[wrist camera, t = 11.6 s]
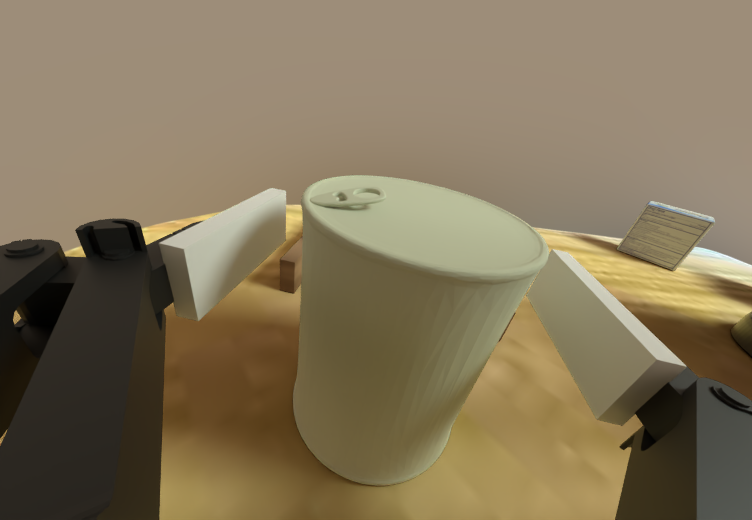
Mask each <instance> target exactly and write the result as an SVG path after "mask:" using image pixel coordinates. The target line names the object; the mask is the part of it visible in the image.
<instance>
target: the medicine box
mask: <svg viewBox="0 0 752 520" xmlns="http://www.w3.org/2000/svg"><path fill="white" fill-rule="evenodd" d="M714 224H715V221H714V219H713V218H712V217H710V216H706V215H702V214H699V213H695V212H691V211H688V210H684V209H680V208H676V207H672V206H669V205H665V204H661V203H657V202H653V201H650V202H649V203H648V204H647V205H646V206H645V208H644V209H643V211H642V212H641V213H640V215H639V217H638V218H637V219H636V221H635V223H634V224H633V226H632V227H631V228H630V230H629V231H628V233H627V234H626V236H625V237H624V239H623V240H622V242H621V243H620V244H619V246H618V247H617V250H619V251H621V252H624V253H627V254H629V255H632V256H635V257H638V258H640V259H643V260H646V261H648V262H651V263H654V264H657V265H659V266H662V267H665V268H667V269H670V270H673V271H675V270H676V269H677V268H678V267H679V265H680V264H681V263H682V262H683V260H684V259H685V258H686V257H687V256H688V254H689V253H690V252H691V251H692V250H693V248H694V247H695V246H696V245H697V244H698V243H699V242H700V240H701V239H702V238H703V237H704V236H705V234H706V233H707V232H708V231H709V230H710V229H711V227H712V226H713V225H714Z"/></svg>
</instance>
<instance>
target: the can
mask: <svg viewBox="0 0 752 520" xmlns="http://www.w3.org/2000/svg"><path fill="white" fill-rule="evenodd" d="M301 206H302V212H303V242H302V277H301V305H300V328H299V352H298V369H297V378H296V381H295V385H294V391H293V410H294V417H295V421H296V424H297V427H298V430H299V432H300V434H301V437H302V439H303V440H304V442H305V444H306V445H307V447H308V448H309V450H310V451H311V452H312V453H313V454H314V456H315V457H316V458H317V459H318V460H319V461H320V462H321V463H322V464H323V465H325V466H326V467H327V468H329V469H330V470H332V471H333V472H335V473H336V474H338V475H340V476H342V477H344V478H346V479H349V480H351V481H354V482H358V483H361V484H368V485H376V486H381V485H393V484H398V483H402V482H405V481H408V480H410V479H412V478H415V477H416V476H418V475H420V474H421V473H423V472H424V471H426V470H427V469H428V468H429V467H430V466H432V465H433V463H434V462H435V461H436V460H437V459H438V458H439V456H440V455H441V453H442V452H443V450H444V448H445V446H446V444H447V441H448V439H449V436H450V432H451V428H452V426H453V424H454V422H455V420H456V418H457V416H458V414H459V412H460V410H461V408H462V407H463V405H464V403H465V401H466V399H467V397H468V395H469V394H470V392H471V390H472V388H473V386H474V384H475V383H476V381H477V379H478V377H479V375H480V373H481V372H482V370H483V368H484V366H485V364H486V362H487V361H488V359H489V357H490V355H491V353H492V352H493V350H494V348H495V346H496V344H497V343H498V341H499V339H500V337H501V336H502V334H503V332H504V330H505V329H506V327H507V325H508V323H509V322H510V320H511V318H512V316H513V315H514V313H515V311H516V309H517V308H518V306H519V304H520V302H521V301H522V299H523V297H524V295H525V294H526V292H527V290H528V289H529V287H530V285H531V284H532V282H533V281H534V279H535V277H536V276H537V274H538V273H539V271H540V270H541V269H542V268H543V267H544V266H545V264H546V263H547V260H548V257H549V249H548V246H547V244H546V242H545V240H544V239H543V237H542V236H541V235H540V234H539V233H538V232H537V231H536V230H535V229H534V228H532V227H531V226H530V225H528V224H527V223H526V222H524V221H523V220H521V219H520V218H518V217H516V216H515V215H513V214H511V213H509V212H507V211H505V210H503V209H501V208H499V207H497V206H495V205H492V204H490V203H488V202H485V201H483V200H480V199H477V198H475V197H472V196H469V195H466V194H463V193H460V192H457V191H454V190H450V189H446V188H443V187H439V186H435V185H430V184H426V183H421V182H416V181H411V180H405V179H399V178H390V177H381V176H360V175H358V176H339V177H333V178H328V179H324V180H321V181H318V182H316V183H314V184H312V185H310V186H309V187H308V188H307V189H306V190H305V191H304V193H303V195H302V199H301Z"/></svg>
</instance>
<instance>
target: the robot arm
mask: <svg viewBox="0 0 752 520" xmlns="http://www.w3.org/2000/svg"><path fill="white" fill-rule="evenodd" d="M75 231H76V233H77V236H78V238H79V240H80V243H81V245H82V248H83V250H84V253H85V255H86V257H65V254H64V252H63V250H62V248H61V246H60V244H59V243H58V242H55V241H52V240H42V239H41V240H32V239H27V240H22V241H20V240H19V241H14V242H11V243H10V244H6V245H2V246H0V438H1V437H2V435H3V434H4V433H5V432H6V430H7V429H8V430H7V433H6V435H5V437H4V439H3V441H2V444H1V446H0V520H159V508H160V479H161V449H162V419H163V389H164V359H165V329H166V316H165V313H164V309H165V308H166V307H167V306H169V305H170V304H171V303H174V307H175V311H176V315H177V316H179V317H183V318H187V319H191V320H195V321H199V320H200V319H201V318H202V317H203V316H205V315H206V314H207V313H208V312H209V311H210V310H211V309H212V308H213V307H214V306H215V305H216V304H218V303H219V302H220V301H221V300H222V299H223V298H224V297H225V296H226V295H227V294H228V293H229V292H231V291H232V290H233V289H234V288H235V287H236V286H237V285H238V284H239V283H240V282H241V281H242V280H243V279H245V278H246V277H247V276H248V275H249V274H250V273H251V272H252V271H253V270H254V269H255V268H256V267H258V266H259V265H260V264H261V263H262V262H263V261H264V260H265V259H266V258H267V257H268V256H269V255H271V254H272V253H273V252H274V251H275V250H276V249H277V248H278V247H279V246H280V245H281V244H282V243H283V242H285V241H286V191H283V190H279V189H274V188H270V189H268V190H266V191H264V192H262V193H260V194H258V195H256V196H254V197H252V198H250V199H248V200H245V201H243V202H242V203H240V204H237V205H235V206H233V207H231V208H229V209H227V210H225V211H223V212H221V213H219V214H217V215H215V216H213V217H211V218H209V219H207V220H204V221H200V222H196V223H192V224H190V225H188V226H186V227H184V228H182V230H178V231H175V232H173V234H169V235H167V236H165V237H163V238H161V239H159V240H157V241H154V242H152V243H150V244H148V245H146V244H145V240H144V236H143V233H142V229H141V226H140V224H139V223H138V222H136V221H134V220H128V219H105V220H98V221H93V222H89V223H87V224H84V225H81V226H80V227H78V228H77V229H76V230H75ZM526 296H527V297H528V299H529V301H530V303H531V304H532V306H533V308H534V310H535V312H536V313H537V315H538V317H539V319H540V320H541V322H542V324H543V326H544V327H545V329H546V331H547V333H548V334H549V336H550V338H551V340H552V341H553V343H554V345H555V347H556V349H557V350H558V352H559V354H560V356H561V357H562V359H563V361H564V363H565V364H566V366H567V368H568V370H569V371H570V373H571V375H572V377H573V378H574V380H575V382H576V384H577V386H578V387H579V389H580V391H581V393H582V394H583V396H584V398H585V400H586V401H587V403H588V405H589V407H590V408H591V410H592V412H593V414H594V415H595V417H596V419H597V420H600V421H604V422H608V423H612V424H616V425H620V426H622V425H624V424H625V423H626V422H627V421H628V420H629V419H630V418H631V417H632V416H633V415H635V414H636V415H637V417H638V418H639V420H640V421H641V422H642V424H643V426H642V427H641V428H640V429H639V430H638V431H636V432H635V433H634V434H633V435H632V436H631V437H629V438H628V439H627V440H626V441H625V442H624V443H622V445H621V446H620V448H621V449H623V450H625V449H626V448H627V447H632V449H631V453H630V458H629V462H628V466H627V471H626V475H625V479H624V484H623V488H622V492H621V497H620V501H619V505H618V510H617V514H616V518H615V520H752V401H751V400H749V399H748V398H747V397H745V396H744V395H742V394H741V393H739V392H738V391H736V390H734V389H732V388H731V387H729V386H727V385H725V384H722V383H720V382H718V381H715V380H712V379H709V378H699V377H698V376H697V375H695V374H694V373H693V372H692V371H691V370H690V369H689V368H688V367H687V366H686V365H685V364H684V363H683V362H682V361H681V360H680V359H679V358H678V357H677V356H676V355H675V354H674V353H673V352H671V351H670V350H669V349H668V348H667V347H666V346H665V345H664V344H663V343H662V342H661V341H660V340H659V339H658V338H657V337H656V336H655V335H654V334H653V333H652V332H651V331H650V330H649V329H647V328H646V327H645V326H644V325H643V324H642V323H641V322H640V321H639V320H638V319H637V318H636V317H635V316H634V315H633V314H632V313H631V312H630V311H629V310H628V309H626V308H625V307H624V306H623V305H622V304H621V303H620V302H619V301H618V300H617V299H616V298H615V297H614V296H613V295H612V294H611V293H610V292H609V291H608V290H607V289H606V288H605V287H604V286H602V285H601V284H600V283H599V282H598V281H597V280H596V279H595V278H594V277H593V276H592V275H591V274H590V273H589V272H588V271H587V270H586V269H585V268H584V267H583V266H582V265H581V264H580V263H578V262H577V261H576V260H575V259H574V258H573V257H572V256H571V255H570V254H569V253H567V252H563V251H558V250H554V249H552V250H551V252H550V254H549V257H548V260H547V263H546V264H545V266H544V267H543V268H542V269H541V270H540V272H539V273H538V275H537V277H536V279H535V281H534V282H533V284H532V286H531V288H530V290H529V291H528V293H527V295H526ZM15 310H17V312H18V314H19V315H20V317H21V318H22V319H20V320H19V321H18V322H17V323H16V324H15V325H14V322H13V317H14V312H15ZM731 333H732V336H733V337H734V339H735V340H736V341H737V343H738V344H739V345H740V346H741V347H742V348H743V349H744V350H745V351H747V352H748V353H749V354H750V355H751V356H752V312H750V313H749V314H747V315H746V316H745V317H744V318H743V319H741V320H740V321H739V322H738V323H737V324H736V325H735V326H734V327H733V328H732V329H731Z"/></svg>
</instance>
